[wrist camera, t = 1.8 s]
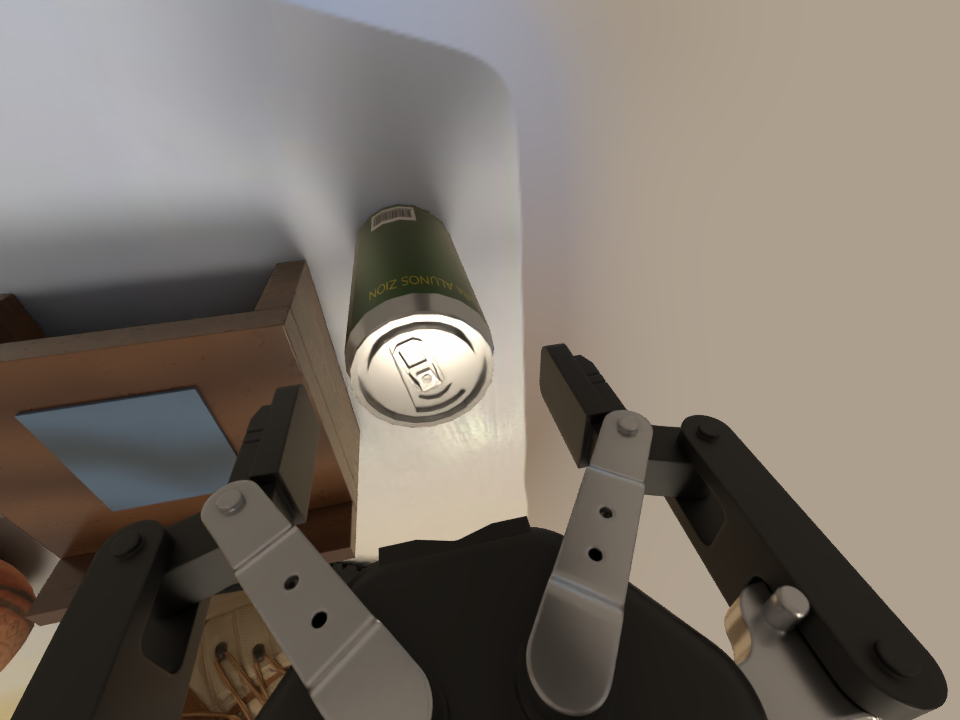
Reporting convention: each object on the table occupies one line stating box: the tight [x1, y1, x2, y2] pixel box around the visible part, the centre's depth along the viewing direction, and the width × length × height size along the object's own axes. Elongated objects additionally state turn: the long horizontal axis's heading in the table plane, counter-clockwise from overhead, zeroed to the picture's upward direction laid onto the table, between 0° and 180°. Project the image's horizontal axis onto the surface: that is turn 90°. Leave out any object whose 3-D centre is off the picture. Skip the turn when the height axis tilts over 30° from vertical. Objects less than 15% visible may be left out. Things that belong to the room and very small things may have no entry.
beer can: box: [345, 204, 494, 428], centre depth 19 cm, size 5×5×12 cm
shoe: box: [181, 564, 365, 720], centre depth 36 cm, size 10×27×15 cm, turn 80°
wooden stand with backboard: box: [0, 261, 360, 626], centre depth 22 cm, size 14×16×10 cm
